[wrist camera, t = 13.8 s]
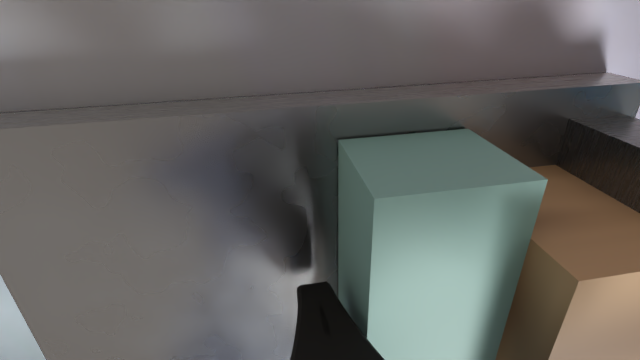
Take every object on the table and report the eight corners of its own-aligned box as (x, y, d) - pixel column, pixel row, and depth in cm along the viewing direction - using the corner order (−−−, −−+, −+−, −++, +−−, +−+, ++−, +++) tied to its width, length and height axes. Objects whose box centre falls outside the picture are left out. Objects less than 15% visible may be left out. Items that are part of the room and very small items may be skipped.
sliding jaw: (430, 352, 16) (472, 436, 13) (338, 368, 15) (360, 460, 12) (468, 128, 11) (548, 179, 8) (338, 139, 11) (374, 198, 8)
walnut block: (515, 296, 15) (623, 419, 11) (436, 309, 15) (515, 444, 11) (555, 164, 13) (719, 258, 8) (458, 174, 12) (579, 281, 8)
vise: (527, 318, 19) (614, 419, 14) (97, 391, 16) (39, 547, 11) (607, 72, 13) (789, 115, 9) (-34, 115, 10) (-244, 212, 6)
